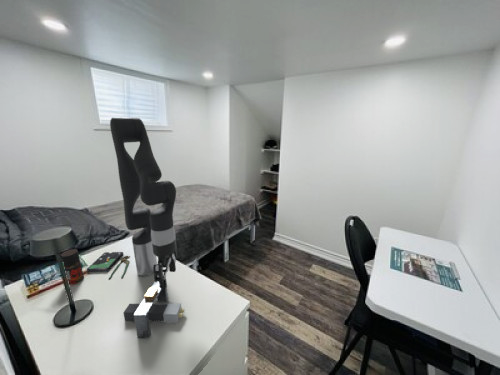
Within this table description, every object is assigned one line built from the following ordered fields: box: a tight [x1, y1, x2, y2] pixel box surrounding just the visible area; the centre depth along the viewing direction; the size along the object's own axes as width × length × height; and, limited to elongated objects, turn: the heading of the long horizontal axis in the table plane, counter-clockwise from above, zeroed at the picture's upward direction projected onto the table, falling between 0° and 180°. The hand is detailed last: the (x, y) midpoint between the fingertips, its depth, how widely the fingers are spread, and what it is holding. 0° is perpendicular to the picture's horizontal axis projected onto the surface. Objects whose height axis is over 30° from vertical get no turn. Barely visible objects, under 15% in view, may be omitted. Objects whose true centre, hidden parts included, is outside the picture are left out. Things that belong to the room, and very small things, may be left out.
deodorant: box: [60, 248, 85, 286], centre depth 95 cm, size 6×6×15 cm
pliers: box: [108, 255, 131, 280], centre depth 107 cm, size 20×6×1 cm, turn 14°
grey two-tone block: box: [123, 302, 185, 324], centre depth 78 cm, size 5×22×4 cm, turn 90°
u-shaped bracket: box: [133, 281, 169, 339], centre depth 77 cm, size 17×4×12 cm, turn 0°
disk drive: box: [86, 251, 124, 273], centre depth 110 cm, size 10×3×15 cm
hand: (168, 279), depth 74 cm, fingers open, 8 cm apart
